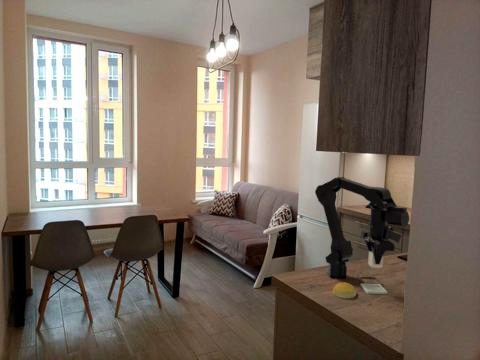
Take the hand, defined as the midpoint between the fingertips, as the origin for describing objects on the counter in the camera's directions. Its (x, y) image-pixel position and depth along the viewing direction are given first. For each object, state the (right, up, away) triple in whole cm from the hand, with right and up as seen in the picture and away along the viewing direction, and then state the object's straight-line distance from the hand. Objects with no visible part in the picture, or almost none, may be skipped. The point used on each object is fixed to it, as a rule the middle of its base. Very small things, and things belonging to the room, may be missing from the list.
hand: (375, 262), depth 134 cm
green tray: (0, -11, +1) cm, 11 cm away
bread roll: (-13, -12, -3) cm, 17 cm away
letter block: (0, -1, 0) cm, 1 cm away
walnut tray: (+1, -10, +9) cm, 14 cm away
